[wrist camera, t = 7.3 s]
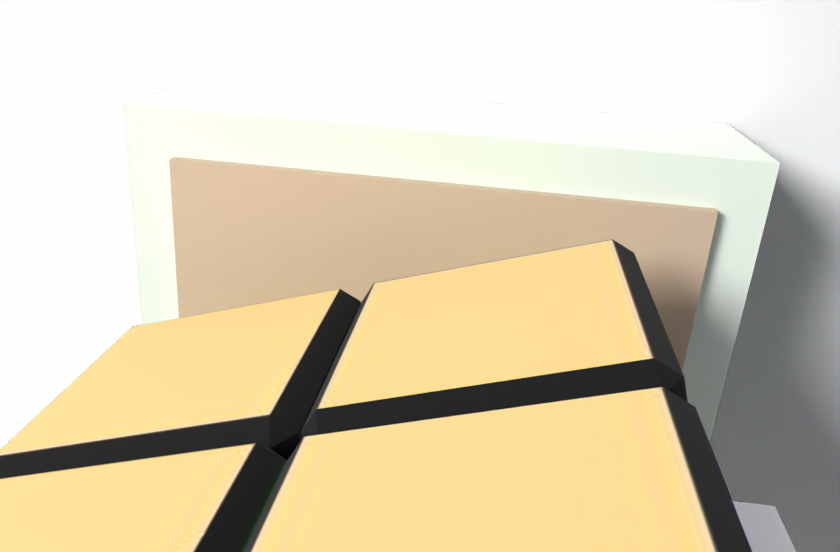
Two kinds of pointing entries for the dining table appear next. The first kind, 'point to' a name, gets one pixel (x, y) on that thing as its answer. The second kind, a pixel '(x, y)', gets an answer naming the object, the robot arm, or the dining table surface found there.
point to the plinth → (437, 201)
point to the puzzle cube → (385, 425)
